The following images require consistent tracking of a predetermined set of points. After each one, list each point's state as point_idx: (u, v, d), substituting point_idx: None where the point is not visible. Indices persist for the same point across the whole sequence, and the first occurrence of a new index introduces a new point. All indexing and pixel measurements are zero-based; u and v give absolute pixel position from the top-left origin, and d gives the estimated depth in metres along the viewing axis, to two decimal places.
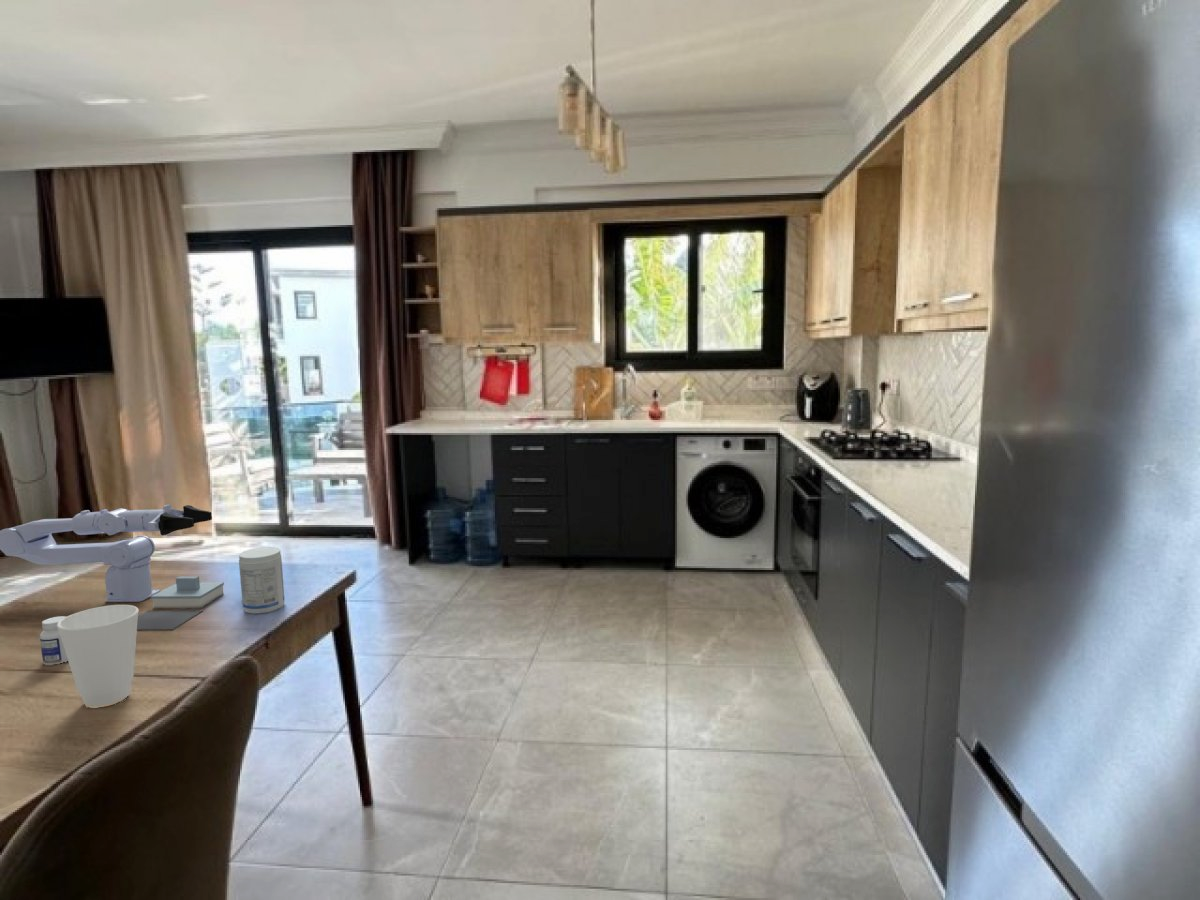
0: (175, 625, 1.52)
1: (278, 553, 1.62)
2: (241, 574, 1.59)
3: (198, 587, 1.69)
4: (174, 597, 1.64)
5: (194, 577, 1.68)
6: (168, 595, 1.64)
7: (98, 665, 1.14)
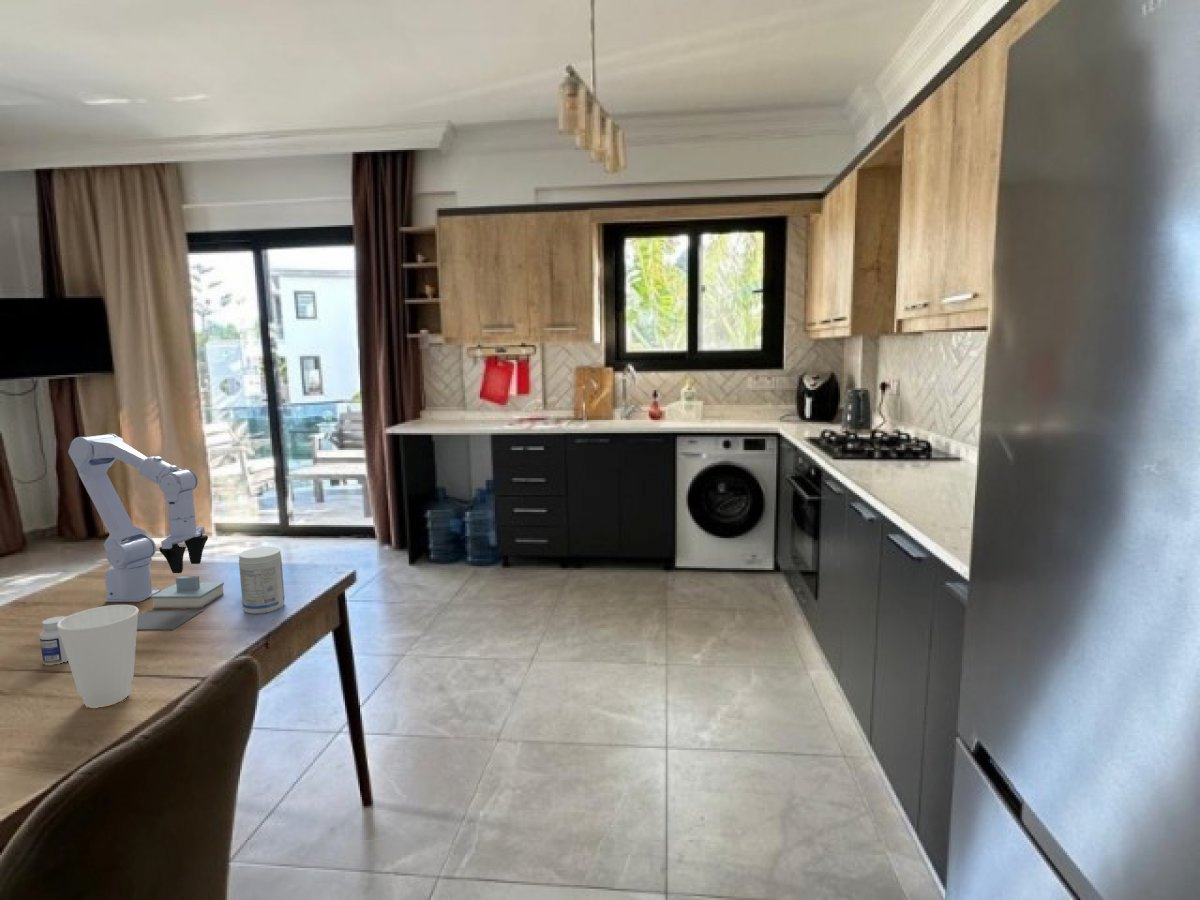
0: (175, 625, 1.52)
1: (278, 553, 1.62)
2: (241, 574, 1.59)
3: (198, 587, 1.69)
4: (174, 597, 1.64)
5: (194, 577, 1.68)
6: (168, 595, 1.64)
7: (98, 665, 1.14)
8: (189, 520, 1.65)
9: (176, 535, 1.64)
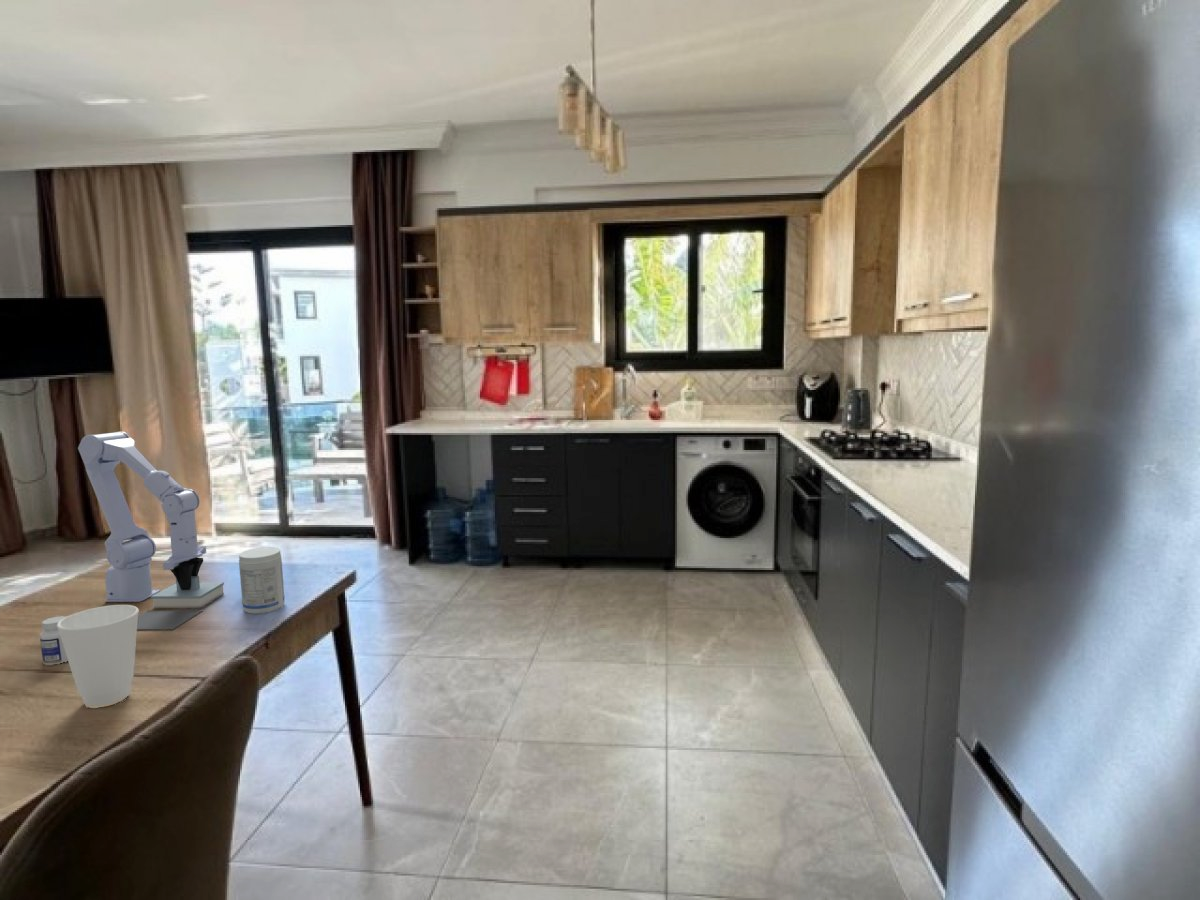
0: (175, 625, 1.52)
1: (278, 553, 1.62)
2: (241, 574, 1.59)
3: (198, 587, 1.69)
4: (174, 597, 1.64)
5: (194, 577, 1.68)
6: (168, 595, 1.64)
7: (98, 665, 1.14)
8: (191, 540, 1.66)
9: (178, 556, 1.65)
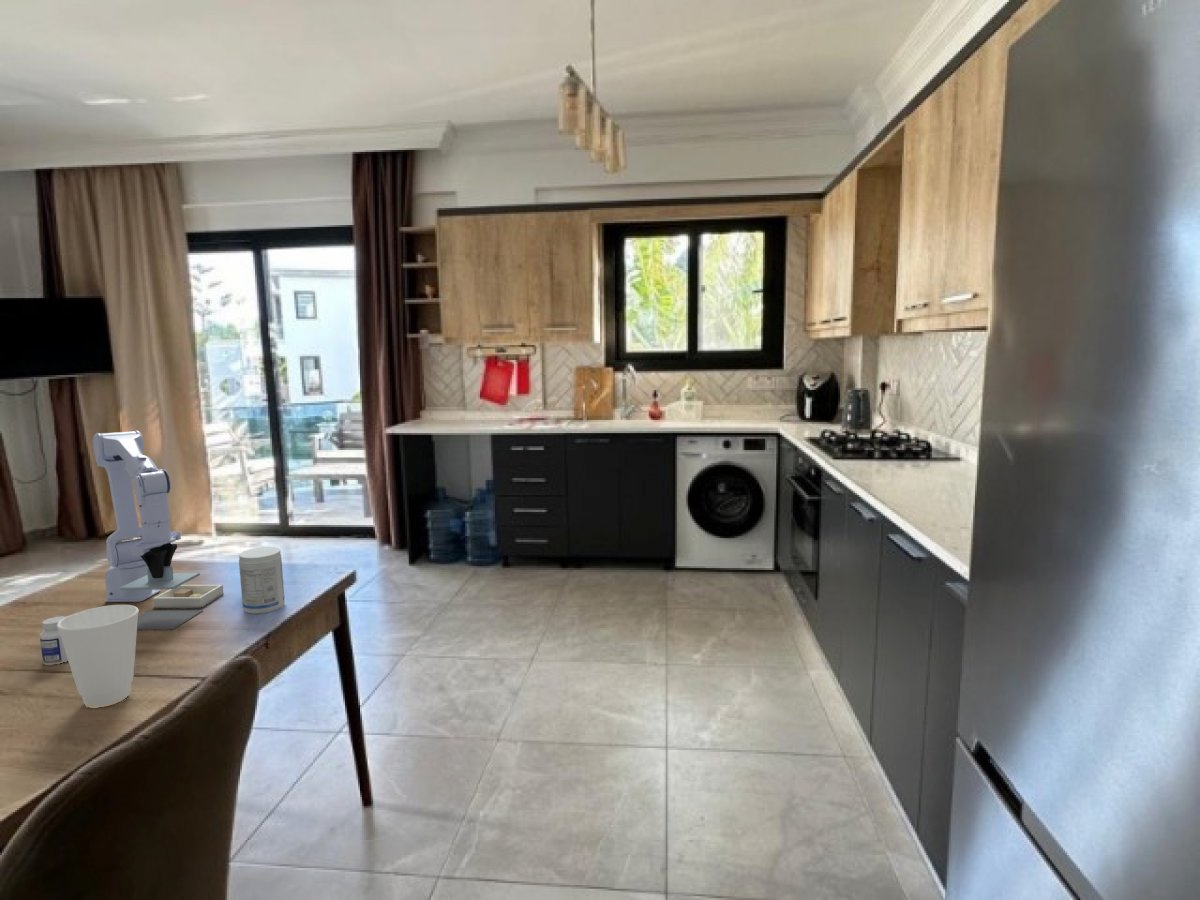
0: (175, 625, 1.52)
1: (278, 553, 1.62)
2: (241, 574, 1.59)
3: (171, 578, 1.57)
4: (145, 588, 1.52)
5: (167, 567, 1.56)
6: (138, 586, 1.52)
7: (98, 665, 1.14)
8: (163, 525, 1.54)
9: (149, 541, 1.53)
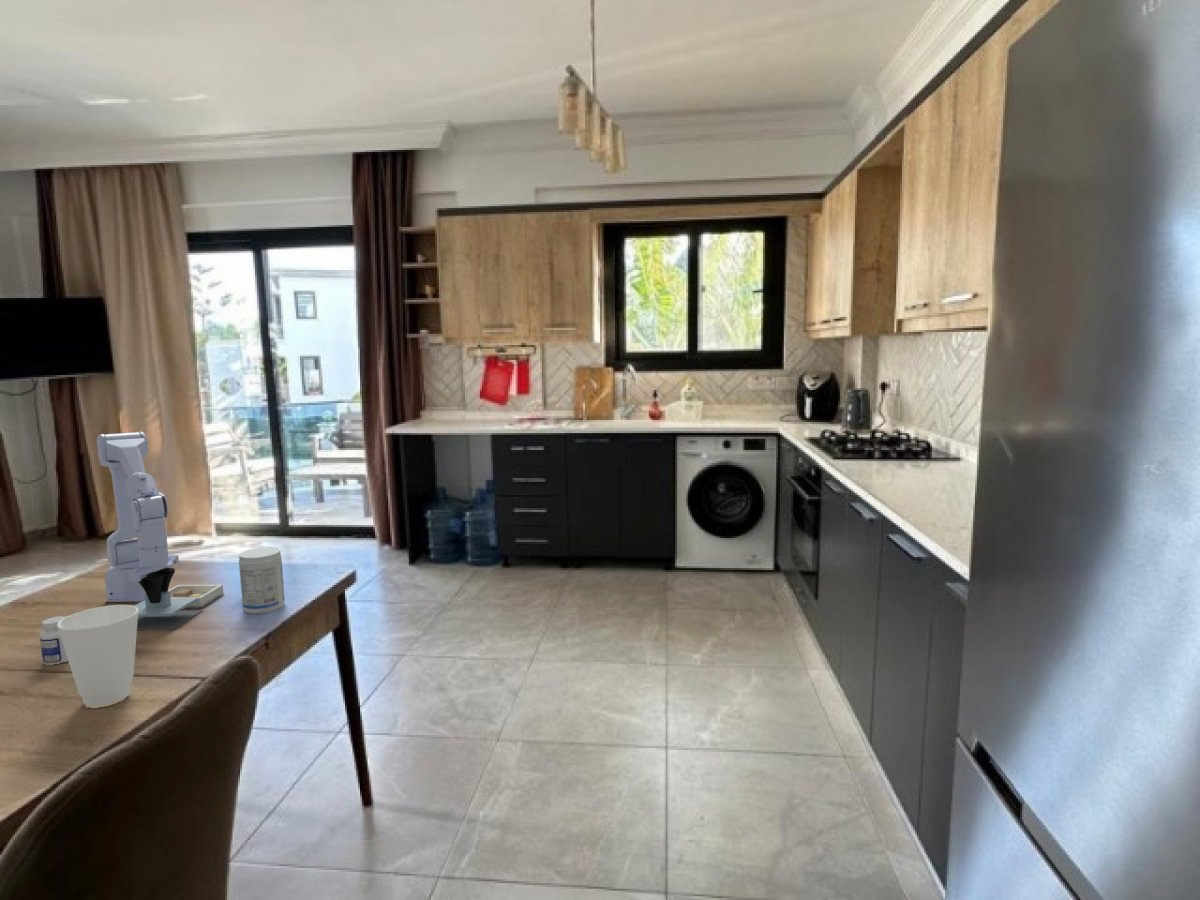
0: (175, 625, 1.52)
1: (278, 553, 1.62)
2: (241, 574, 1.59)
3: (169, 604, 1.56)
4: (142, 615, 1.51)
5: (164, 593, 1.55)
6: None
7: (98, 665, 1.14)
8: (160, 550, 1.53)
9: (146, 566, 1.51)
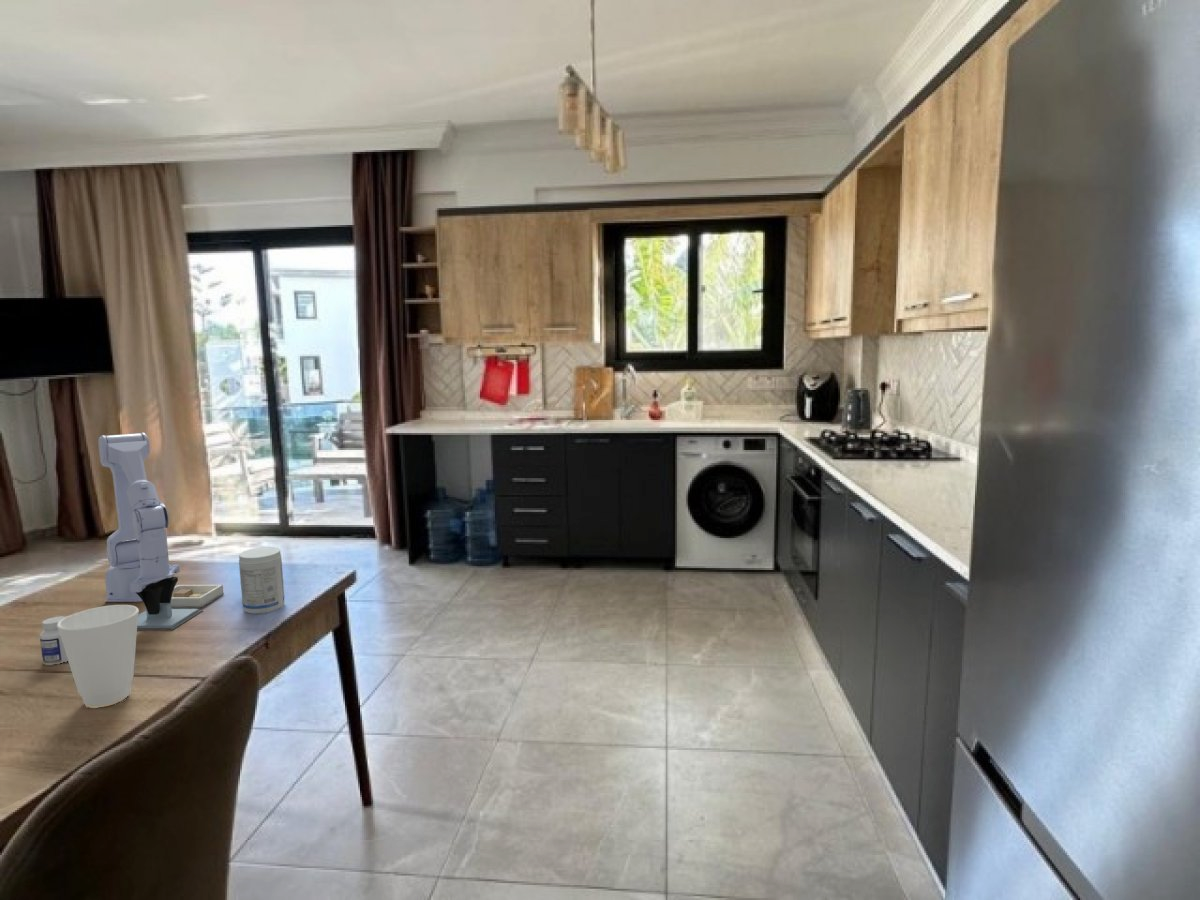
0: (175, 625, 1.52)
1: (278, 553, 1.62)
2: (241, 574, 1.59)
3: (170, 615, 1.56)
4: (143, 626, 1.51)
5: (166, 604, 1.56)
6: (137, 624, 1.52)
7: (98, 665, 1.14)
8: (161, 560, 1.53)
9: (147, 576, 1.52)
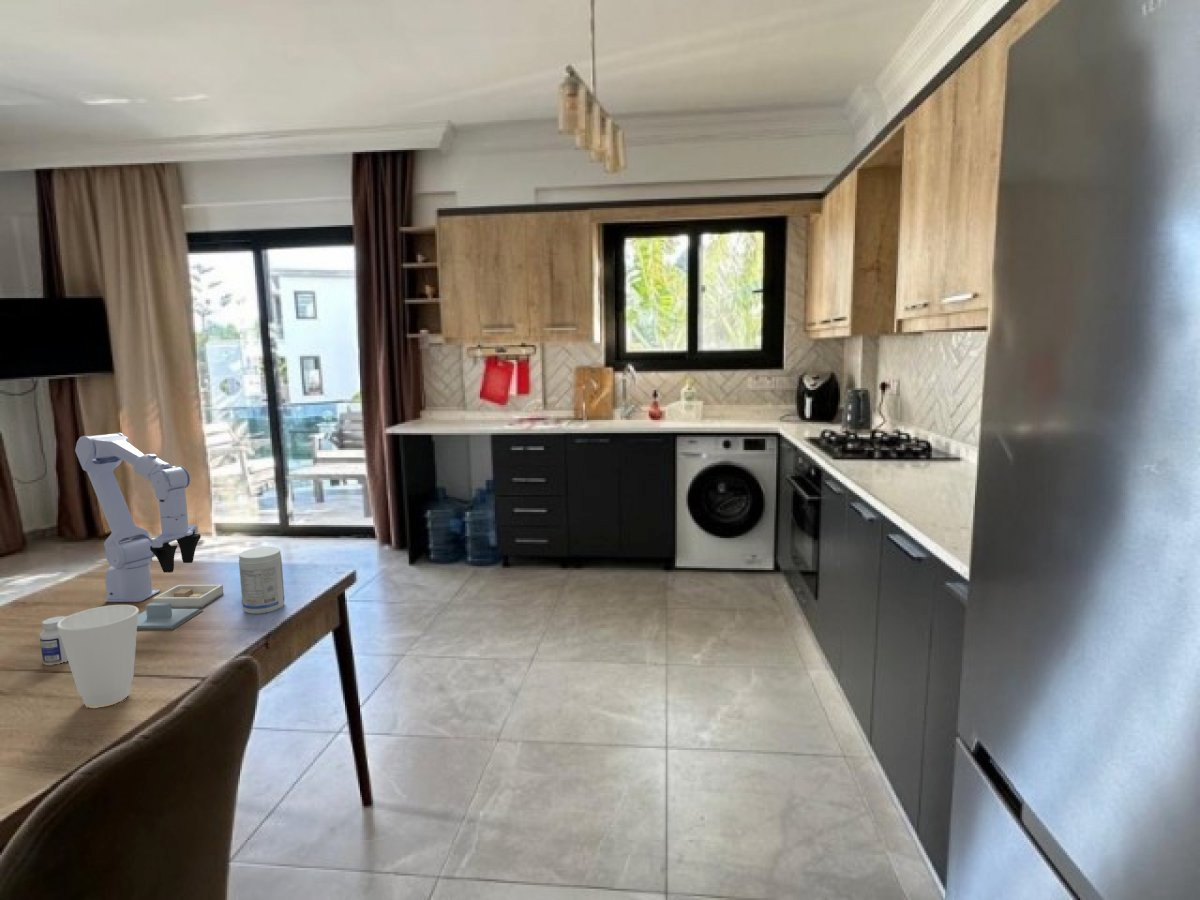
0: (175, 625, 1.52)
1: (278, 553, 1.62)
2: (241, 574, 1.59)
3: (170, 615, 1.56)
4: (143, 626, 1.51)
5: (166, 604, 1.56)
6: (137, 624, 1.52)
7: (98, 665, 1.14)
8: (181, 518, 1.62)
9: (167, 534, 1.61)
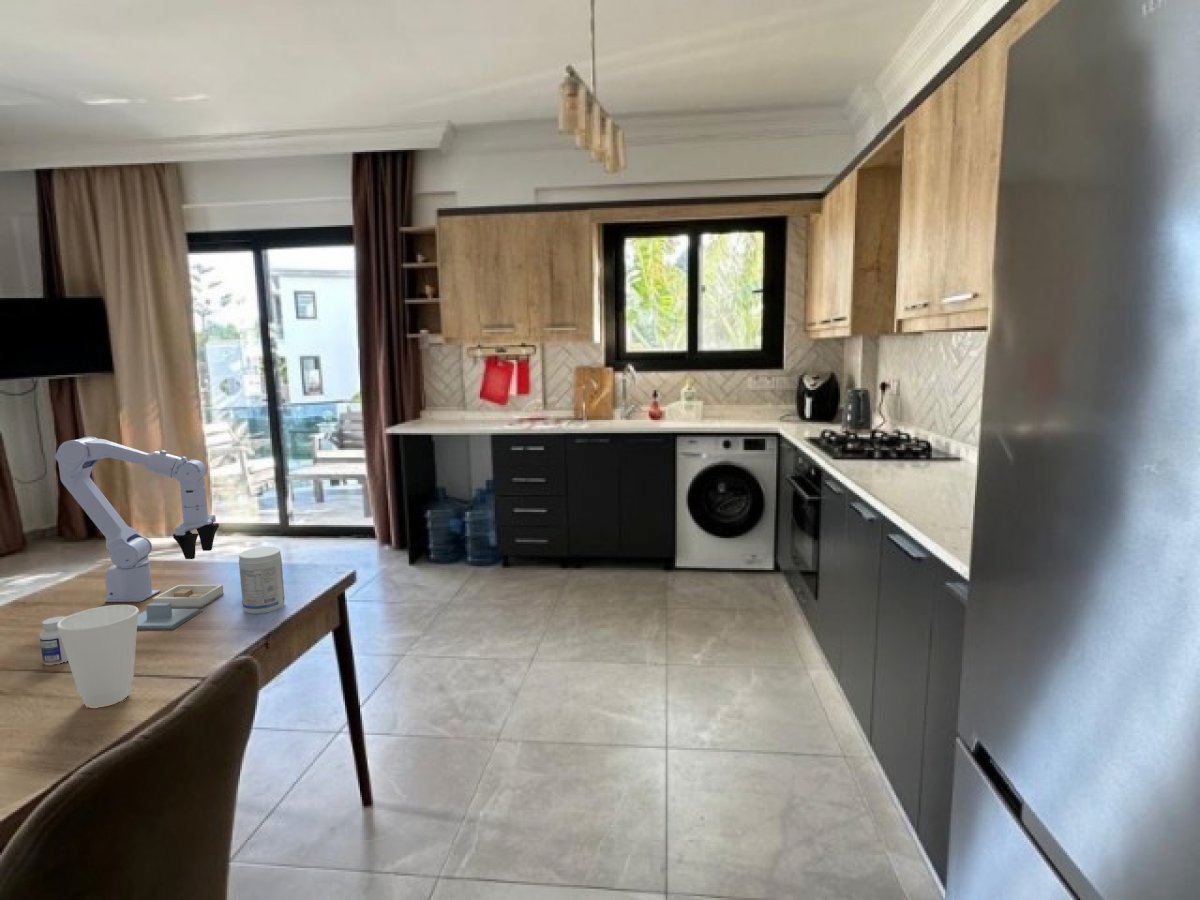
0: (175, 625, 1.52)
1: (278, 553, 1.62)
2: (241, 574, 1.59)
3: (170, 615, 1.56)
4: (143, 626, 1.51)
5: (166, 604, 1.56)
6: (137, 624, 1.52)
7: (98, 665, 1.14)
8: (201, 508, 1.72)
9: (189, 522, 1.71)
